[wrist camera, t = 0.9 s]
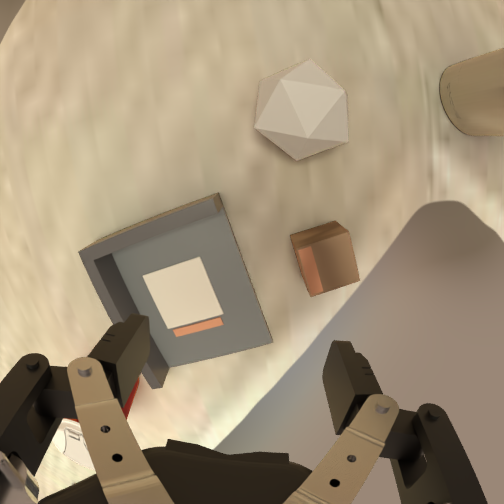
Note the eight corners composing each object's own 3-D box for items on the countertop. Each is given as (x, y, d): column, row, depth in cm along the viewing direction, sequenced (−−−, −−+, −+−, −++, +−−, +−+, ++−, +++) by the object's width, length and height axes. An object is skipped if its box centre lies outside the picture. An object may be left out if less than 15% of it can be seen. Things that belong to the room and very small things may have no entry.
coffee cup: (92, 343, 36) (39, 416, 22) (147, 359, 37) (108, 445, 22) (96, 386, 39) (56, 457, 24) (146, 401, 39) (117, 481, 25)
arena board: (218, 192, 31) (212, 198, 26) (272, 339, 36) (274, 363, 31) (97, 239, 32) (78, 251, 28) (161, 366, 37) (152, 389, 33)
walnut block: (335, 220, 31) (349, 231, 27) (345, 263, 33) (360, 280, 28) (289, 235, 32) (295, 249, 27) (302, 277, 33) (310, 297, 29)
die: (301, 175, 31) (379, 155, 23) (227, 150, 26) (302, 111, 18) (304, 108, 31) (373, 77, 23) (238, 77, 26) (304, 28, 18)
